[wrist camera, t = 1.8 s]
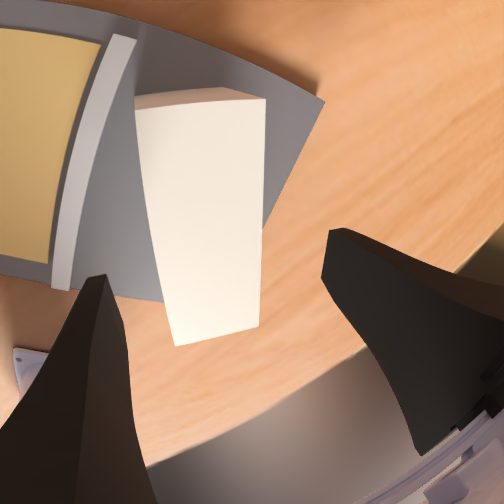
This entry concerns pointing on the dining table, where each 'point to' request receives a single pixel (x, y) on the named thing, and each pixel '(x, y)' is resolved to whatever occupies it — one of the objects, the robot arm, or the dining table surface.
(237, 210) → the frame block
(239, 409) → the dining table surface
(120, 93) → the grey ridged board
